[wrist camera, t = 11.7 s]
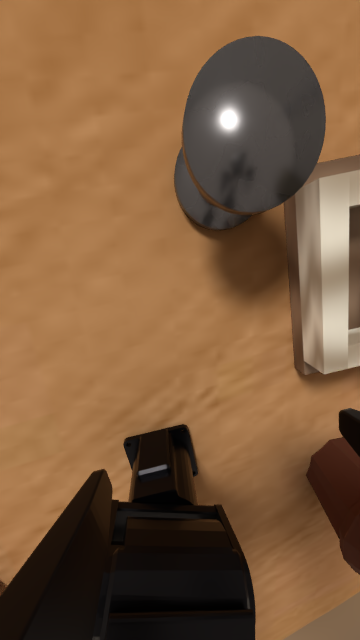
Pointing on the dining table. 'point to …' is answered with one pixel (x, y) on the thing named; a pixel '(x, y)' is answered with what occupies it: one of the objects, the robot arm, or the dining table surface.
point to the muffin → (339, 493)
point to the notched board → (325, 267)
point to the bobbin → (248, 132)
